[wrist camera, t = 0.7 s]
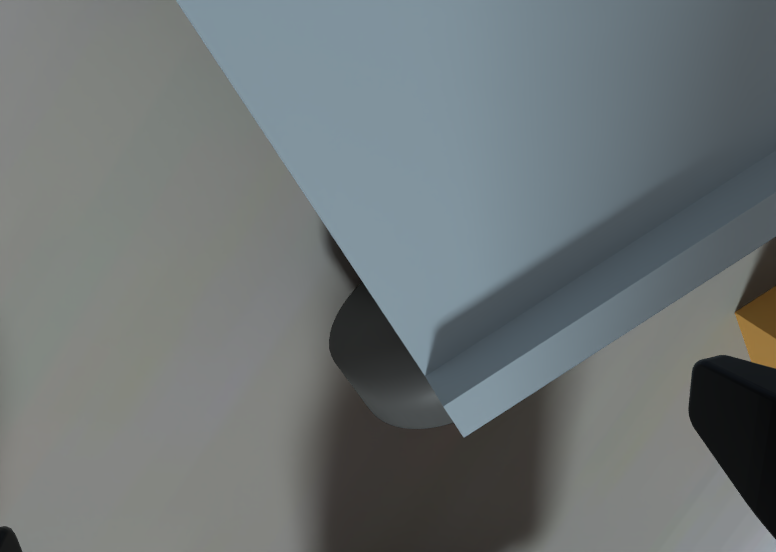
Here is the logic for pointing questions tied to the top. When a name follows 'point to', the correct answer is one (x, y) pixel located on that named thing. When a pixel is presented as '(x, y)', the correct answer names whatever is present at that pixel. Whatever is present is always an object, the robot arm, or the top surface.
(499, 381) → the trolley
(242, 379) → the top surface
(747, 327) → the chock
